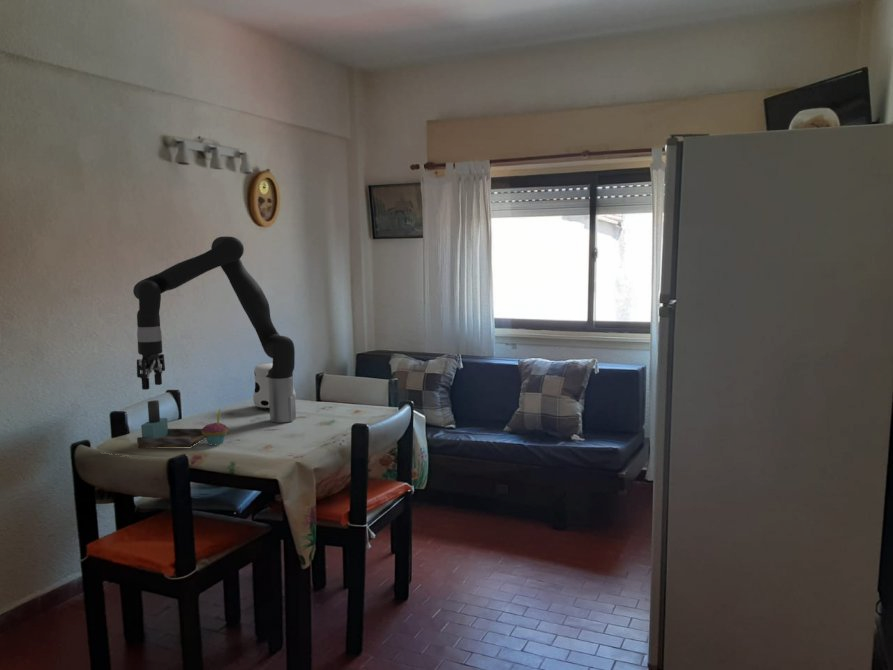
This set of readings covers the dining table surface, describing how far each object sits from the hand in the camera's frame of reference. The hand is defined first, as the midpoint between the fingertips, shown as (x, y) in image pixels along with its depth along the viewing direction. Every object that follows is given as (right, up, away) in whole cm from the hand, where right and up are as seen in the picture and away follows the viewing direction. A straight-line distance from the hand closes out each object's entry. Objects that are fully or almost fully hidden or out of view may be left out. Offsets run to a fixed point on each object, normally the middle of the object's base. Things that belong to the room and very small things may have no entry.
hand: (152, 386), depth 224 cm
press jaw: (0, -18, +2) cm, 18 cm away
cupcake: (+21, -20, +1) cm, 29 cm away
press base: (+6, -20, +2) cm, 21 cm away
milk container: (+27, -13, +55) cm, 63 cm away
